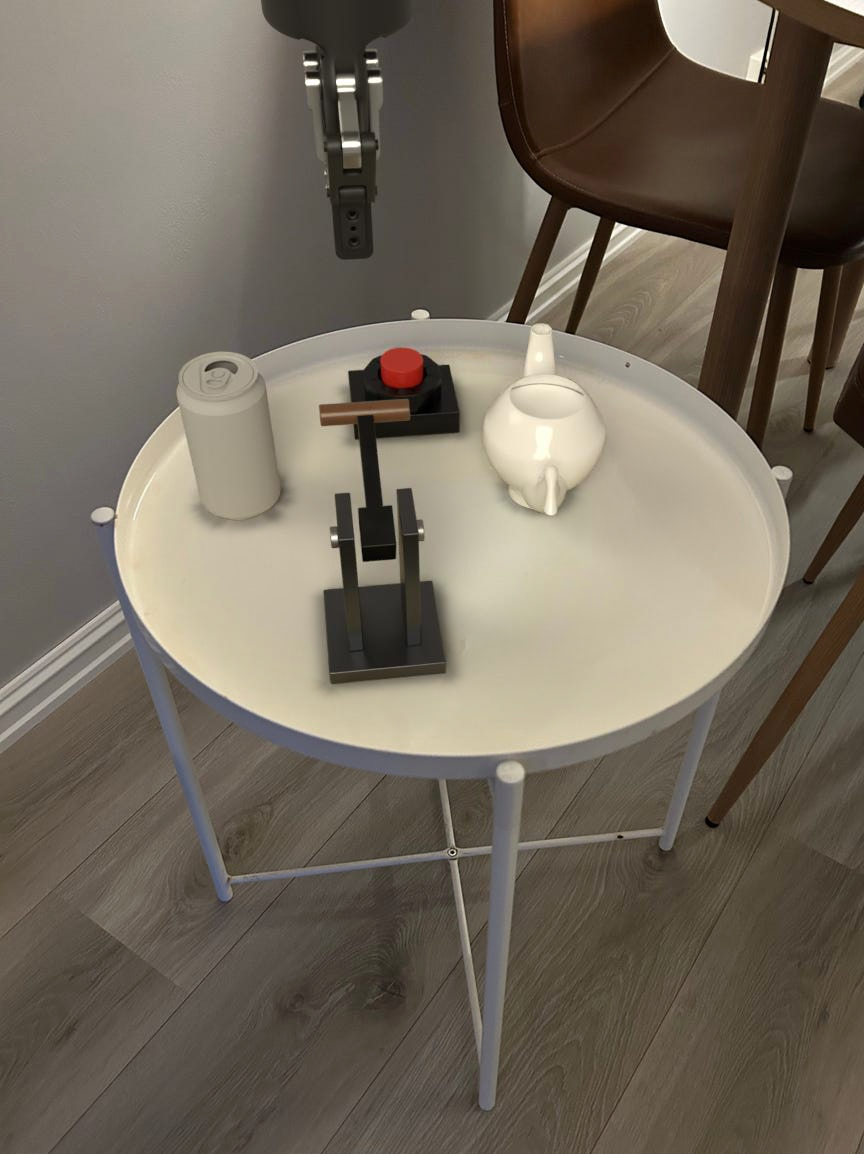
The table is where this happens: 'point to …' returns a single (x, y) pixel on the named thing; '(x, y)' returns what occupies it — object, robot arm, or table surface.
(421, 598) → the bracket
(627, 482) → the table surface
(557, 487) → the teapot
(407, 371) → the button
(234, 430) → the beverage can
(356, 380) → the control block
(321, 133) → the robot arm
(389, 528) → the lever
